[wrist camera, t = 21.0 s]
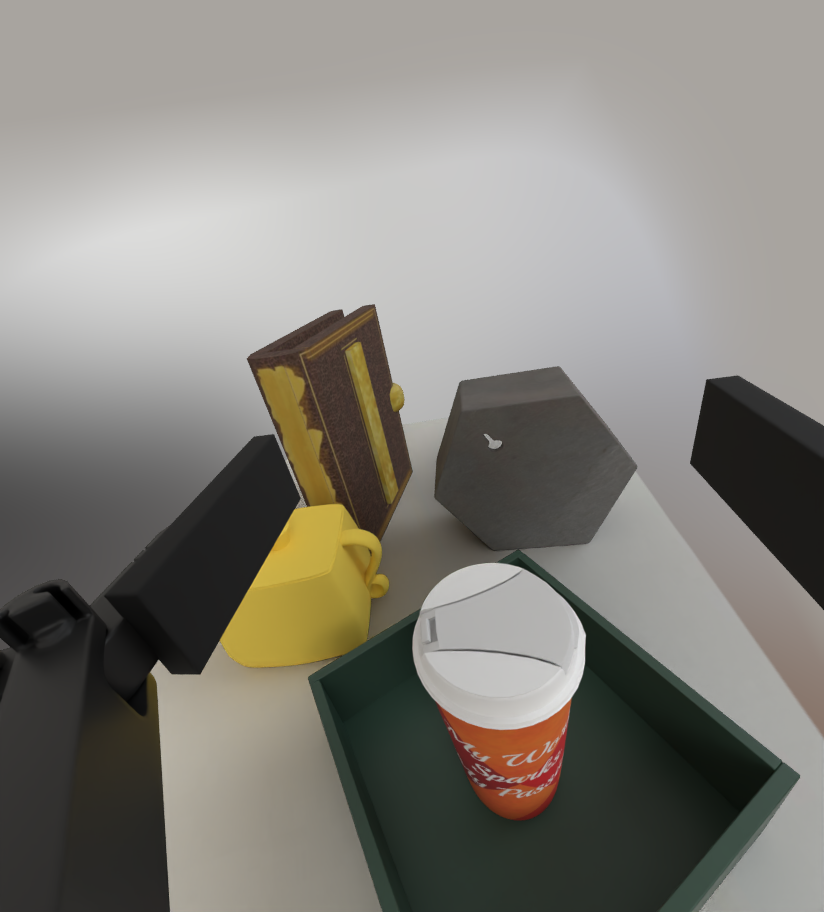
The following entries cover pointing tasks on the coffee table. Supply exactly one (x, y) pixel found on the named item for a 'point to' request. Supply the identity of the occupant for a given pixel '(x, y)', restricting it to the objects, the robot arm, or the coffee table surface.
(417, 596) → the coffee table surface
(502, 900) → the bin
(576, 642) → the coffee cup
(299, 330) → the book
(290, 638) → the teapot
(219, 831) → the coffee table surface
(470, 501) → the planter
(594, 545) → the coffee table surface
